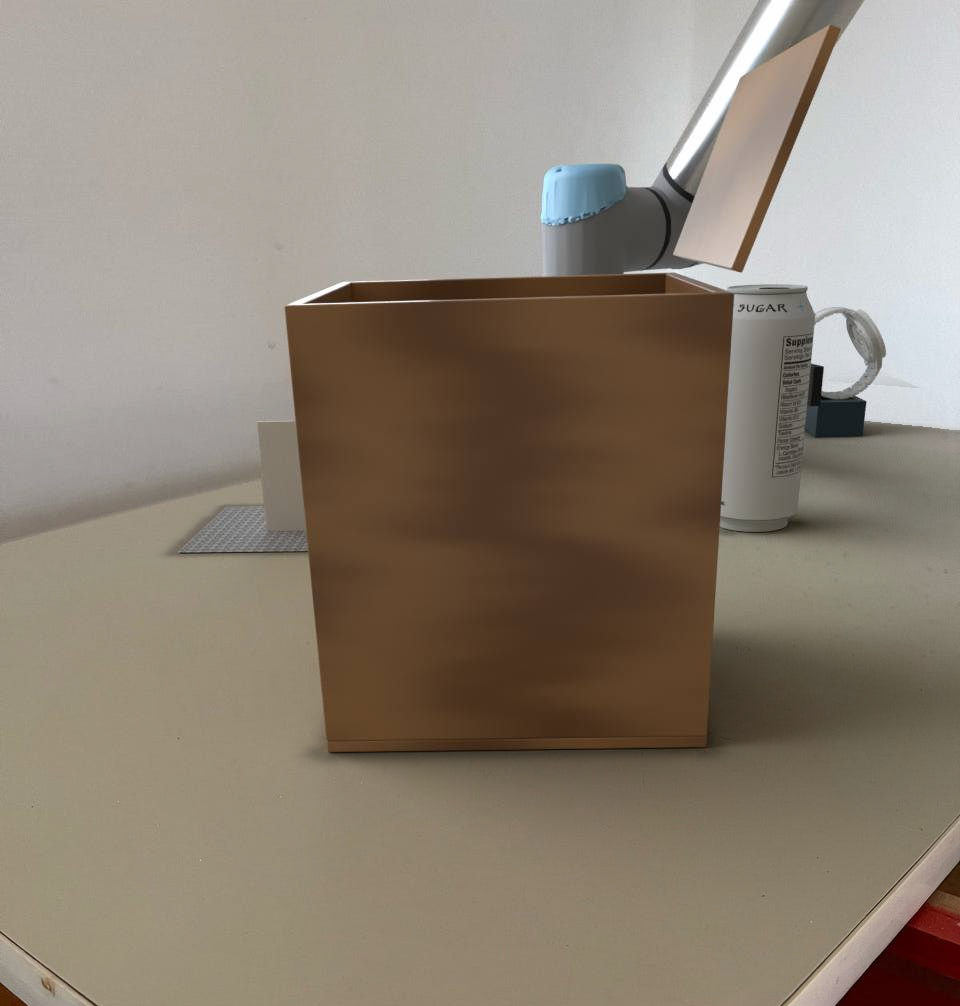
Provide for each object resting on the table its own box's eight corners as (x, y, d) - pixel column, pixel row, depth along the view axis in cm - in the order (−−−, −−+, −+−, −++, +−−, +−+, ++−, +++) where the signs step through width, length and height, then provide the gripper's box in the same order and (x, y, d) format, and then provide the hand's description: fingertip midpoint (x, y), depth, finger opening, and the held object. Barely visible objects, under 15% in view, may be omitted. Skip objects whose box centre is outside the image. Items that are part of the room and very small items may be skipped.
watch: (884, 435, 94) (899, 309, 90) (795, 437, 94) (807, 311, 90) (863, 423, 99) (877, 304, 95) (779, 425, 99) (789, 306, 95)
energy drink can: (725, 505, 73) (739, 283, 67) (809, 517, 70) (831, 284, 64) (689, 526, 69) (701, 289, 63) (776, 539, 65) (798, 291, 60)
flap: (672, 254, 46) (680, 257, 46) (730, 269, 34) (742, 273, 34) (740, 76, 43) (749, 80, 43) (829, 23, 31) (842, 28, 31)
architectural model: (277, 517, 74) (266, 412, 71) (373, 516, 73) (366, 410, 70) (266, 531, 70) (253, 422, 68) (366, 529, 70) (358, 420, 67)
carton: (660, 625, 52) (675, 272, 46) (706, 747, 40) (734, 292, 34) (368, 630, 53) (341, 281, 46) (327, 752, 41) (284, 305, 34)
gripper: (746, 391, 93) (883, 434, 74) (479, 410, 88) (552, 461, 69) (752, 304, 90) (896, 326, 71) (476, 319, 85) (552, 346, 66)
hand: (727, 393), depth 70 cm, fingers open, 13 cm apart
